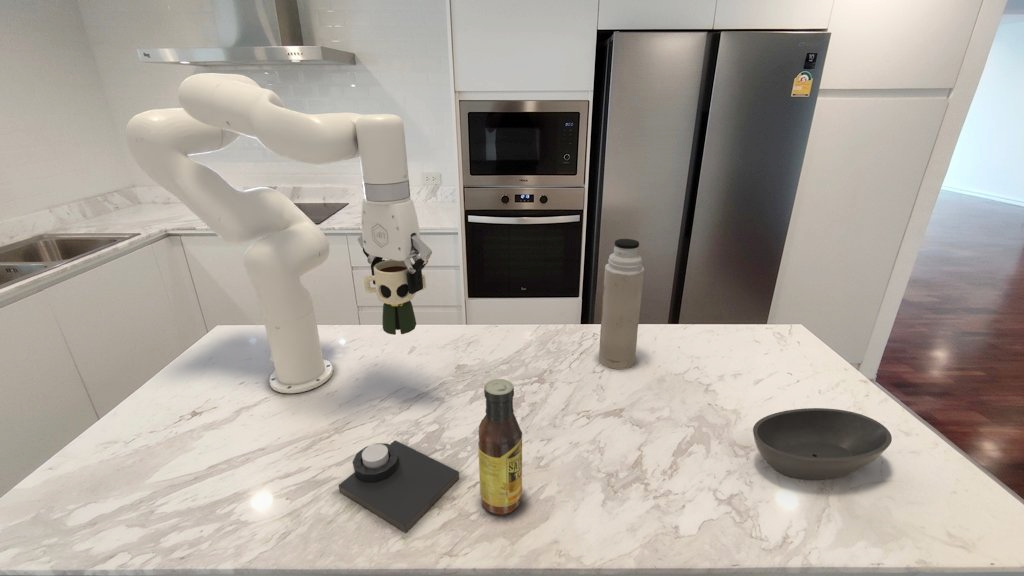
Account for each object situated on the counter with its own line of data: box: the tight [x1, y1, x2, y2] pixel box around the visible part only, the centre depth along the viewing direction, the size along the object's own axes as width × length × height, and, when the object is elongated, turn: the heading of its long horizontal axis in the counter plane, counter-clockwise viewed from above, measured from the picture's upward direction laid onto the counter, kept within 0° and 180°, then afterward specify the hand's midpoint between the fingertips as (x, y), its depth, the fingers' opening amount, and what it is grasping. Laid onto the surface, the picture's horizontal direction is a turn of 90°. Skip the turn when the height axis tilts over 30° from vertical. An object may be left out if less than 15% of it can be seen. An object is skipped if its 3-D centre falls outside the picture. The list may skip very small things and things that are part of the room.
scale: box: [338, 439, 460, 533], centre depth 75 cm, size 16×12×3 cm
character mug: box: [363, 259, 427, 336], centre depth 89 cm, size 11×7×13 cm, turn 98°
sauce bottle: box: [478, 378, 523, 516], centre depth 68 cm, size 6×6×20 cm
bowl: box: [752, 407, 893, 482], centre depth 77 cm, size 12×22×6 cm, turn 99°
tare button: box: [362, 443, 389, 469], centre depth 76 cm, size 4×4×2 cm
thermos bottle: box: [598, 238, 645, 370], centre depth 103 cm, size 8×8×28 cm
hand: (397, 286), depth 88 cm, fingers closed on character mug, 8 cm apart
